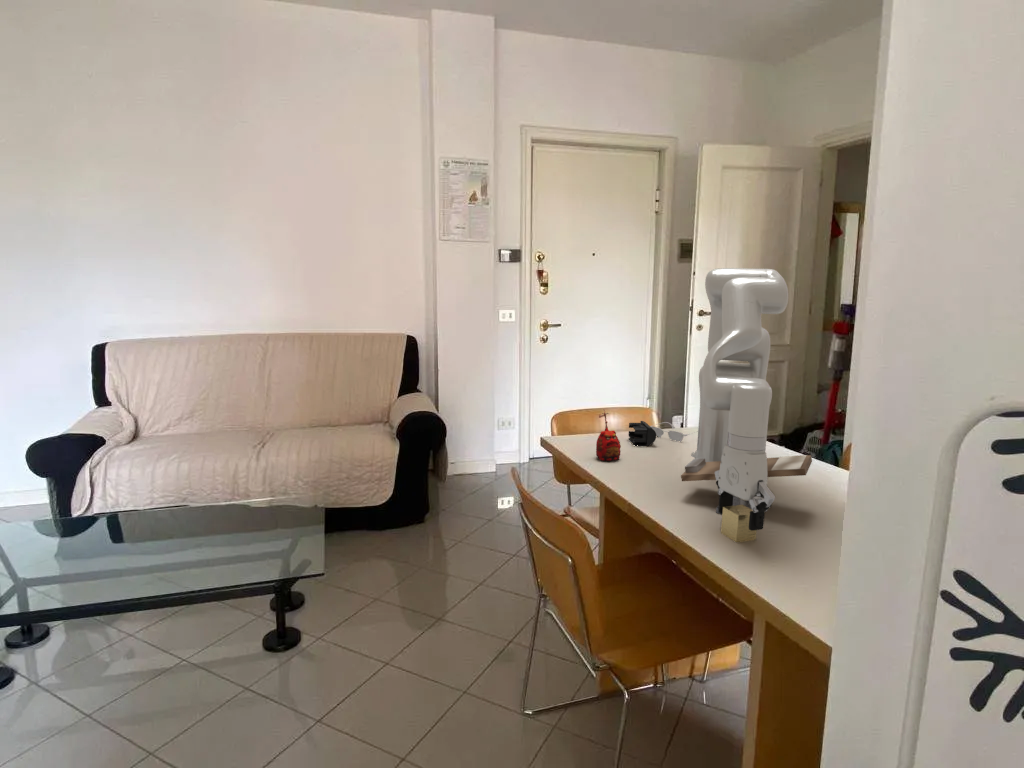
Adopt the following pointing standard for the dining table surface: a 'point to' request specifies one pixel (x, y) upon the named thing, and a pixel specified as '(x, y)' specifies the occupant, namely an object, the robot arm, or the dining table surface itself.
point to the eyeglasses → (670, 433)
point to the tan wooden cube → (737, 523)
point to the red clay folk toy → (607, 444)
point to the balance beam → (774, 468)
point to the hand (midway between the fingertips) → (739, 520)
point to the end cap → (642, 434)
